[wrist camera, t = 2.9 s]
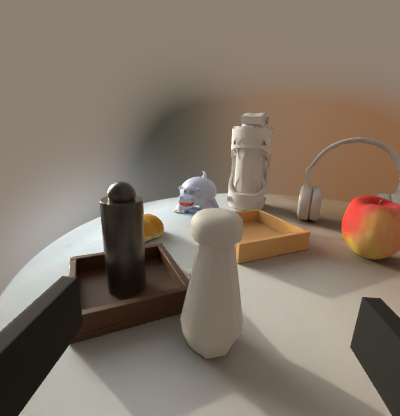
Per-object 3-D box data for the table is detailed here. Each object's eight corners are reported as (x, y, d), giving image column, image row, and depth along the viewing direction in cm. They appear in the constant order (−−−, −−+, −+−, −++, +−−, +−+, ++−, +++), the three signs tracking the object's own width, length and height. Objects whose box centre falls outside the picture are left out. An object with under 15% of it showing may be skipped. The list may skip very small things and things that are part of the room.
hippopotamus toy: (162, 218, 58) (162, 177, 55) (185, 202, 72) (186, 169, 69) (207, 224, 55) (209, 181, 52) (222, 207, 69) (224, 172, 66)
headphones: (392, 227, 57) (415, 139, 51) (401, 241, 49) (429, 139, 44) (298, 213, 65) (309, 136, 60) (294, 222, 58) (307, 135, 52)
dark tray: (72, 275, 34) (69, 257, 33) (162, 259, 39) (161, 243, 38) (68, 344, 23) (64, 319, 22) (193, 309, 28) (194, 288, 28)
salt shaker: (177, 367, 21) (178, 222, 18) (181, 319, 27) (183, 201, 23) (246, 368, 21) (261, 225, 18) (236, 320, 27) (246, 203, 23)
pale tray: (198, 230, 51) (199, 215, 50) (257, 222, 57) (258, 208, 56) (237, 264, 39) (239, 244, 38) (307, 249, 45) (310, 231, 44)
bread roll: (171, 233, 49) (171, 214, 48) (135, 248, 43) (134, 226, 41) (143, 223, 54) (143, 206, 53) (106, 236, 47) (105, 215, 46)
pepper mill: (105, 279, 32) (96, 178, 28) (141, 272, 34) (137, 177, 30) (109, 301, 28) (99, 186, 24) (149, 291, 30) (146, 184, 26)
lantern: (262, 213, 64) (273, 108, 57) (223, 208, 68) (229, 108, 61) (267, 201, 76) (277, 113, 69) (234, 197, 79) (240, 113, 72)
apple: (323, 248, 45) (333, 194, 42) (357, 240, 49) (368, 190, 46) (380, 275, 37) (397, 210, 34) (415, 263, 41) (433, 203, 38)
